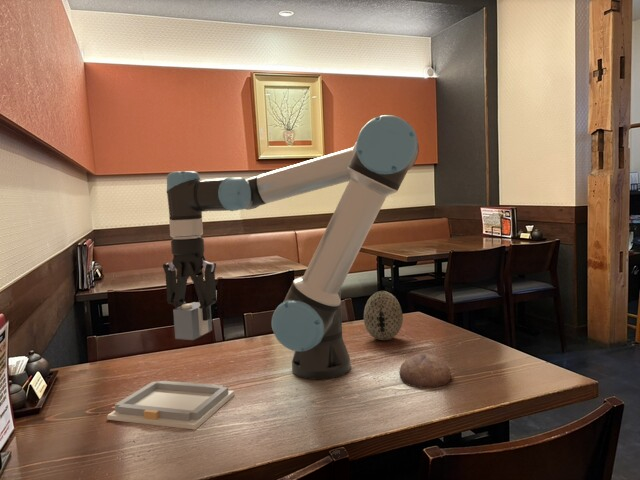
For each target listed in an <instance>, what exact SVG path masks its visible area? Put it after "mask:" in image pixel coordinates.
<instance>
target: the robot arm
mask: <svg viewBox="0 0 640 480" xmlns="http://www.w3.org/2000/svg"><path fill="white" fill-rule="evenodd" d="M418 141H419V140H418V136H417V133H416V131H415V129H414V127H413V126H412V125H411V124H410V123H409V122H408V121H406V120H404V119H403V118H401V117H399V116H397V115H391V114H384V115H379V116H377V117H373V118H372V119H370V120H369V121H367V122H366V124H364V125H363V127H362V128H361V130H360V131H359V134H358V136H357V140H356V142H355V143H354V145H353V146H352V147H350V148H346V149H343V150H340V151H339V150H338V151H337V152H333V153H329V154H326V155H322V156H319V157H316V158H313V159H312V158H311V159H309V160H305V161H302V162H299V163H296V164H293V165H289V166H286V167H282V168H279V169H275V170H271V171H268V172H266V173H261V174H259V175H256V176H254V175H253V176H252V177H248V178H245V177H239V176H238V177H235V176H228V177H219V178H208V179H205V178H204V179H203V178H201V177H200V173H198V172H197V171H193V170H191V171H190V170H189V171H187V170H186V171H172V172H169V173H168V174H167V177H166V196H167V203H168V205H167V206H168V214H169V215H168V217H169V220H168V221H169V236H170V237H171V238H172V239H171V240H170V246H171V253H172V255H173V258H172V261H171V262H167V263H163V265H162V268H163V271H164V273H165V286H166V289H165V290H166V301H167V304H168V305H170V304H171V305H173V306H174V309H176V308H179V307H182V305H183V304H187V303H186V301H185V298H186V293H187V292H186V290H187V283H188V279H189V278H190V279H191V281H192V282H193V284H194V288H195V292H196V295H197V298H198V302H200V306H199V308H198V318H199V332H200V335H202V336H204V335H207V334H208V333H210V332H209V329H208V320H209V319H210V305H211V306H212V305H214V304H216V303H217V301H218V300H217V287H216V285H217V284H216V274H215V273H216V269H217V268H216V267H217V263H216V262H209V261H207V260H206V258H205V255H204V253H205V240H204V239H205V238H203V237H202V236H203V235H204V229H203V228H204V227H203V212H221V211H222V212H223V211H226V212H227V211H228V212H229V211H230V212H234V211H235V212H236V211H239V210H240V211H242V210H254V209H256V208H258V207H260V206H263V205H266V204H267V205H268V204H271V203H274V202H277V201H281V200H284V199H289V198H292V197H296V196H299V195H303V194H307V193H310V192H314V191H318V190H322V189H325V188H329V187H333V186H337V185H341V184H343V183H346V182H347V185H346V187H345V189H344V191H343V193H342V195H341V198H340V199H339V201H338V203H337V206H336V208H335V210H334V211H333V214H332V216H331V217H330V220H329V222H328V224H327V226H326V228H325V231H324V233H323V234H322V237H321V238H320V240H319V243H318V245H317V247H316V249H315V251H314V253H313V255H312V257H311V259H310V262H309V264H308V265H307V268H306V270H305V271H304V274H303V276H299V277H296V278H294V280H293V281H292V283H291V286H290V288H289V289H288V292H287V293H286V296H285V297H284V300H283V302H281V303H280V304H279V305H278V306H277V307H275V310H274V312H273V314H272V316H271V328H272V329H271V330H272V331H273V334H274V337H275V338H276V341H278V343H279V344H281V346H283V347H284V348H286V349H288V350H291V351H293V356H292V359H291V370H292V373H293V375H295V376H297V377H299V378H304V379H309V380H326V379H333V378H337V377H340V376H343V375H345V374H347V373H348V372H349V371H350V370H351V368H352V364H351V357H350V354H349V352H348V349H347V347H346V342H345V340H344V338H343V324H342V323H343V321H342V301H341V299H342V298H341V294H342V291H341V288H342V286H343V284H344V282H345V280H346V278H347V276H348V274H349V272H350V270H351V269H352V266H353V264H354V262H355V260H356V259H357V256H358V254H359V252H360V250H361V248H362V246H363V244H364V242H365V240H366V238H367V236H368V234H369V232H370V230H371V228H372V226H373V224H374V222H375V221H376V219H377V216H378V214H379V212H380V210H381V209H382V207H383V204H384V202H385V201H386V199H387V197H388V196H390V195H392V194H395V193H397V192H398V191H399V189H400V187H401V184H402V183H403V182H404V180H405V177H406V175H407V173H408V171H410V170H411V169H412V167H414V165H415V164H416V161H417V159H418V157H419V152H420V151H419V150H420V148H419V142H418ZM203 271H204V272H203Z"/></svg>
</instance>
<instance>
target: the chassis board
mask: <svg viewBox="0 0 640 480" xmlns="http://www.w3.org/2000/svg"><path fill="white" fill-rule="evenodd" d="M234 396H235V390H229V387H226V386H225V385H224V384H223V385H222V384H221V385H219V384H209V383H197V382H196V383H195V382H185V381H182V382H181V381H173V380H172V381H171V380H170V381H169V380H159V381H154V380H153V381H151V382H149V383H147V384H146V385H144V386H143V387H141V388H140V389H138V390H136V391H135V392H133V393H132V394H129V395H128V396H126V397H125V398H123V399H121V400H120V401H118V402H117V403H115V404H114V410H113V411H111V412H110V413H108V414H107V417H106V418H107V420H108V421H109V420H110V421H116V422H117V421H118V422H124V423H125V422H126V423H133V424H134V423H135V424H142V425H150V426H151V425H152V426H158V427H159V426H161V427H168V428H169V427H170V428H178V429H187V430H193V431H195V430H197V429H198V428H200V426H201V425H202V424H204V423H205V422H206V421H207V420H208V419H209V418H210V417H212V415H214V413H217V411H218V410H219V409H220V408H222V407H223V406H224V405H225V404H226V403H227V402H228V401H230V400H231V399H232V398H233V397H234Z"/></svg>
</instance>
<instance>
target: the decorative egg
mask: <svg viewBox="0 0 640 480" xmlns="http://www.w3.org/2000/svg"><path fill="white" fill-rule="evenodd" d="M403 317H404V316H403V310H402V307H401V305H400V302H399V301H398V299H397V298H396V296H395V295H393V294H392V293H390V292H388V291H385V290H380V291H376V292H374V293H372V295H370V297H369V298H368V299H367V301H366V304H365V305H364V309H363V323H364V326H365V327H364V328H365V330H366V331H367V332H368V334H369V335H370V336H371V337H373V338H374V339H376V340H379V341H388V340H391V339H393V338H395V337H396V336H397V335H398V334H399V332H400V331H401V328H402V326H403V320H404V318H403Z"/></svg>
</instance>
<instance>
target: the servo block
mask: <svg viewBox="0 0 640 480" xmlns="http://www.w3.org/2000/svg"><path fill="white" fill-rule="evenodd" d="M199 306H200V302H199V301H197V302H196V301H193V302H190V303H185V304H183V305H182V307H179V308H176V309H175V308H174V309H172V313H173V326H174V327H173V328H174V338H175V340H184V341H185V340H188V341H194V340H196V339H198V338H200V337H202V336H203V335H200V332H199V318H198V308H199ZM211 306H212V305H210V319H209V320H208V329H209V332H208V333H210V332H211V331H213V324H212V323H213V322H212V309H211Z"/></svg>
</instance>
